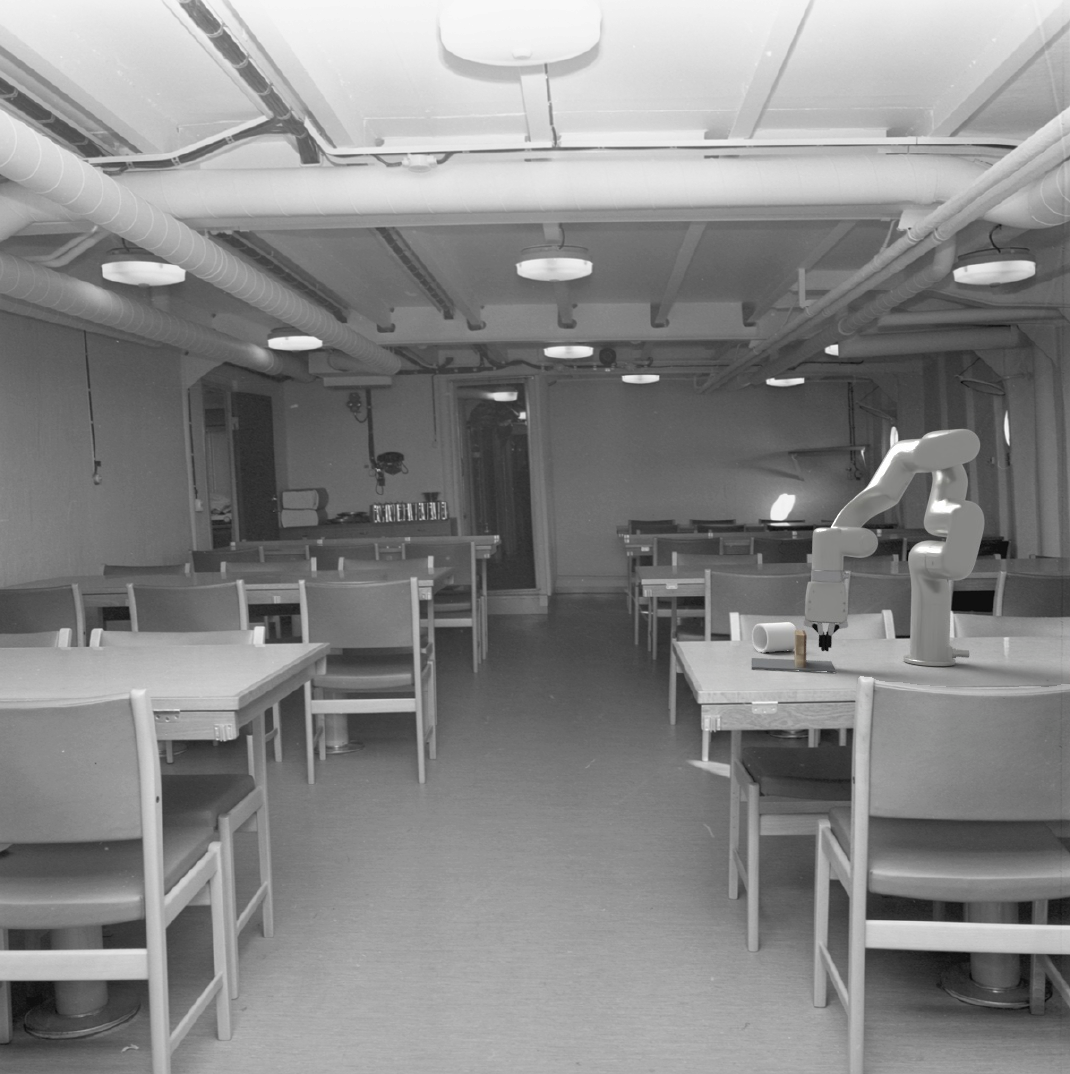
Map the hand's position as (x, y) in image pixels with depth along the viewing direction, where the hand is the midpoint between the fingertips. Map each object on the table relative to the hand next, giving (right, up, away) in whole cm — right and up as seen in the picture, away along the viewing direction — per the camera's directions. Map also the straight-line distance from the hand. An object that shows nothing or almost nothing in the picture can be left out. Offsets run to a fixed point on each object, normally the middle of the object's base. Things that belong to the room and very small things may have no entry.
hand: (824, 650), depth 249 cm
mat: (-8, -4, +2) cm, 9 cm away
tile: (-6, -4, +1) cm, 7 cm away
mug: (-7, -3, +27) cm, 29 cm away
